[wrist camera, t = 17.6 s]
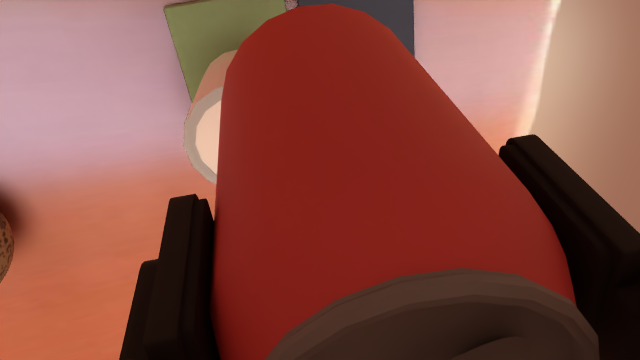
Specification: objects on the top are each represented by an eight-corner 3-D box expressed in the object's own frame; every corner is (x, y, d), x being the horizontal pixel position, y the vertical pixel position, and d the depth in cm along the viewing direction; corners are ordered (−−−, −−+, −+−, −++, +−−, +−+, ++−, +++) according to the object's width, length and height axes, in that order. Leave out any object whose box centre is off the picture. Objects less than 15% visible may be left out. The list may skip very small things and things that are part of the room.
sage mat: (164, 6, 30) (163, 8, 30) (282, -15, 30) (282, -12, 30) (213, 169, 37) (213, 174, 36) (309, 152, 37) (310, 156, 37)
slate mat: (294, -17, 30) (295, -14, 30) (410, -37, 31) (412, -35, 30) (320, 150, 37) (321, 154, 37) (413, 132, 37) (416, 136, 37)
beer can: (446, 82, 18) (709, 373, 8) (323, 202, 20) (409, 548, 10) (310, -49, 15) (459, 156, 5) (182, 109, 17) (107, 472, 7)
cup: (207, 23, 30) (201, 65, 25) (311, 59, 33) (327, 105, 27) (180, 119, 34) (169, 176, 28) (276, 146, 36) (284, 204, 30)
